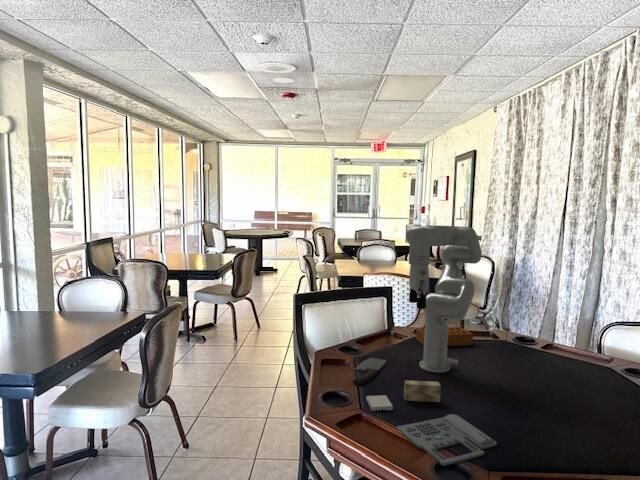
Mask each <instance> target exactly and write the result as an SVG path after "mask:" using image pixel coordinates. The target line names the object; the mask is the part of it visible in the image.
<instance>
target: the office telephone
mask: <svg viewBox="0 0 640 480" xmlns="http://www.w3.org/2000/svg"><path fill="white" fill-rule="evenodd" d="M395 429H396V431H397V430H398V431H397V432H399V431H400V432H401V433H402V434H403V435H404V436H403V435H402V434H401V433H400V432H399V433H400V434H401V435H402V436H403V437H404V438H405V439H407V440H408V441H409V442H410V443H412V445H414V446H415V447H417V448H418V449H422V450H424V451H425V452H426V453H427V454H428V455H430V457H432V458H433V459H435V460H436V461H437V460H438V461H439V462H438V461H437V462H438V463H439V465H441V466H443V467H444V466H449V465H453V464H456V463H455V462H457V463H460V462H459V461H461V462H464V461H468V460H472V459H474V458H478V457H481V456H484V455H485V451H484V449H488V448H493V447H496V446H497V445H498V443H497V441H496V440H494V439H493V438H491V437H490V436H488V435H487V434H486V433H485V432H483V431H482V430H480V429H479V428H477V427H475V426H474V425H473V424H471V423H470V422H468V421H467V420H466V419H464V418H463V417H461V416H459V415H458V414H453V413H452V414H451V413H449V414H447V415H445V416H444V417H437V418H434V419H428V420H424V421H418V422H414V423H408V424H402V425H398V426H396V428H395ZM458 444H461V445H462V446H463V447H465V448H467V449H468V450H469V451H471V452H469V453H465V454H461V455H458V456H453V457H449V458H447V457H446V456H444V455H443V454H442V453H440V452H439V451H438V450H440V449H444V448H447V447H450V446H455V445H458ZM439 448H440V449H439Z"/></svg>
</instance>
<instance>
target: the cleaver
mask: <svg viewBox="0 0 640 480" xmlns="http://www.w3.org/2000/svg"><path fill="white" fill-rule="evenodd" d="M386 364H387V360H386V359H382V358H381V359H380V358H374V357H369V358H367V359H364V360H363V361H361V362H360V363H359V364H358V365H357V366H356V367H355V368H354V370H355V371H357V372H362V374H361V375H360V376H358V377H356V378H354V379H353V384H354V385H358V386H361V385H364V384H366V383H368V382H369V381H370V380H371V379H373V378H374V377H376V376H377V375H378V373H379V371H380V370H381V369H382V368H384V366H385V365H386Z"/></svg>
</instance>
